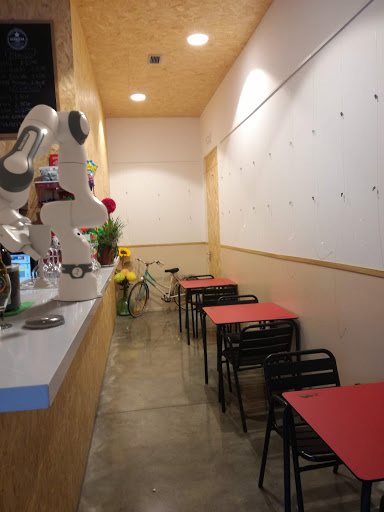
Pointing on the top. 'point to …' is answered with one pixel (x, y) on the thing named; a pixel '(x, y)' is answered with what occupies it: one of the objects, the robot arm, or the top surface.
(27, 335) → the top surface
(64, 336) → the top surface
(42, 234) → the chalice
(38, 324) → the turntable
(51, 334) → the top surface
